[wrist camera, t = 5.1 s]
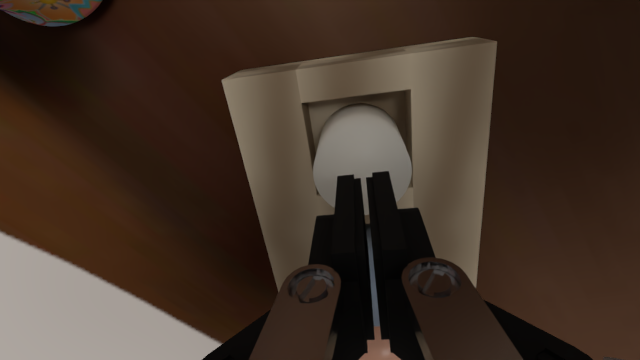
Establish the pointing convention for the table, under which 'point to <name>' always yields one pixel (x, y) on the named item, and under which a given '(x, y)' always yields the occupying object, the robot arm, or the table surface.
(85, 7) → the multicolour ceramic cup
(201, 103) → the table surface
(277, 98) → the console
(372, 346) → the button terracotta
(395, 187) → the button ivory
